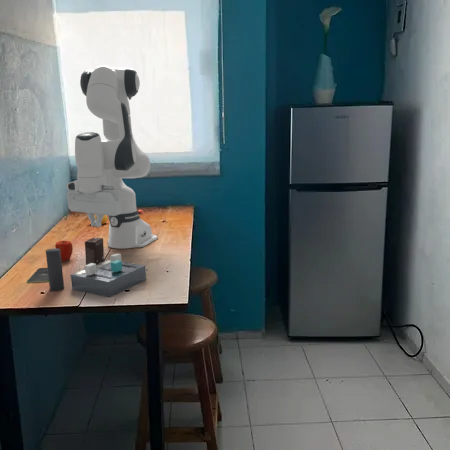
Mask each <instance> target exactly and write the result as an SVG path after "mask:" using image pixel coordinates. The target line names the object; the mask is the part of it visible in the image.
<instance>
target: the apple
mask: <svg viewBox="0 0 450 450" xmlns="http://www.w3.org/2000/svg"><path fill="white" fill-rule="evenodd" d="M55 248H57V249H60V253H61V262H66V261H69V260H70V259H71V257H72V254H73V243H72V241H70V240H59V241H57V242H56V243H55Z"/></svg>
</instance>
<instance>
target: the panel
mask: <svg viewBox="0 0 450 450" xmlns="http://www.w3.org/2000/svg"><path fill="white" fill-rule="evenodd" d="M96 269H97V273H95V274H93V275H85V268H84V269H82V270H78V271H76V272H74V273H72V274H70V280H71V283H70V284H71V290H73V291H79V292H82V293H83V292H84V293H87V294H92V295H96V296H97V295H98V296H102V297H107V298H111V297H113V296H115V295H117V294H120V293H122V292H124V291H126V290H128V289H130V288H132V287H134V286H137V285H138V284H140V283H142V282H144V281H147V271H146V269H147V268H146V265H145V264H138V263H133V262H128V261H127V262H126V261H122V270H120V271H118V272H111V259H107V260H104V262H102V263H99V264H97V265H96Z"/></svg>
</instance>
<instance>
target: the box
mask: <svg viewBox="0 0 450 450" xmlns="http://www.w3.org/2000/svg"><path fill="white" fill-rule="evenodd" d="M84 251H85V265H88V264H90V263H94V264H96V265H97V264H99V263H102V262H104V261H105V253H104V238H103V237H102V238H101V237H92V238H89V239H87V240H85V241H84Z"/></svg>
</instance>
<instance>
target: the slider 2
mask: <svg viewBox="0 0 450 450" xmlns="http://www.w3.org/2000/svg"><path fill="white" fill-rule="evenodd" d="M109 259H110V260H111V262H113V261H116V260H119V261H122V254H121V253H118V252H117V253H114V254H111V255H110V258H109Z"/></svg>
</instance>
